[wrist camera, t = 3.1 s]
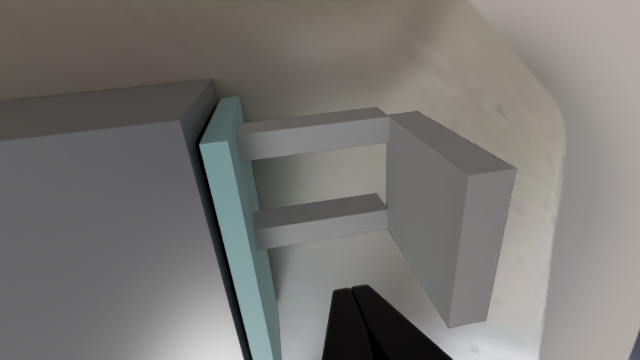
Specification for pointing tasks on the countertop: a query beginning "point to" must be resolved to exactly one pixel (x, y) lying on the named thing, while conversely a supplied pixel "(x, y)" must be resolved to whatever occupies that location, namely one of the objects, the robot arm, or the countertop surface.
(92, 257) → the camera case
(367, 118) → the case door
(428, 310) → the countertop surface
